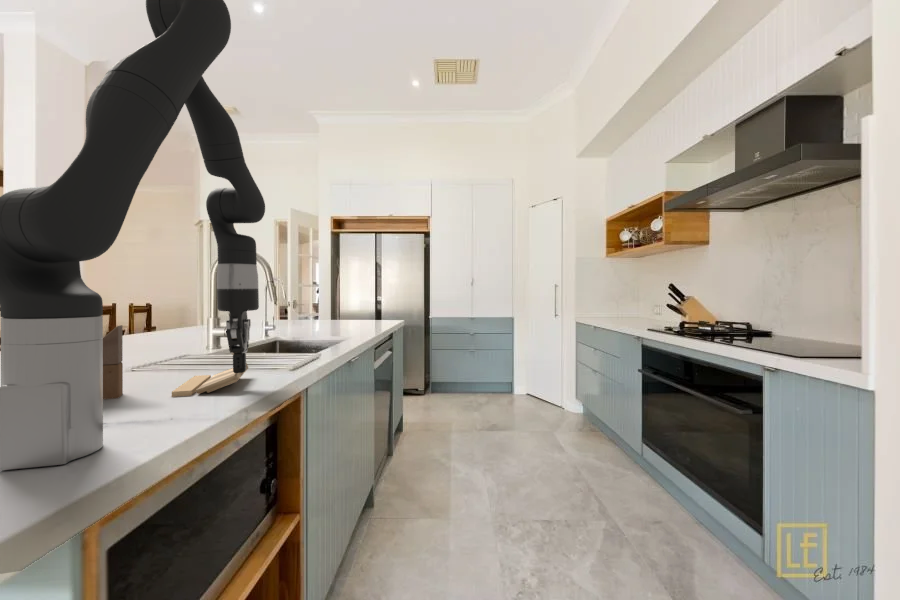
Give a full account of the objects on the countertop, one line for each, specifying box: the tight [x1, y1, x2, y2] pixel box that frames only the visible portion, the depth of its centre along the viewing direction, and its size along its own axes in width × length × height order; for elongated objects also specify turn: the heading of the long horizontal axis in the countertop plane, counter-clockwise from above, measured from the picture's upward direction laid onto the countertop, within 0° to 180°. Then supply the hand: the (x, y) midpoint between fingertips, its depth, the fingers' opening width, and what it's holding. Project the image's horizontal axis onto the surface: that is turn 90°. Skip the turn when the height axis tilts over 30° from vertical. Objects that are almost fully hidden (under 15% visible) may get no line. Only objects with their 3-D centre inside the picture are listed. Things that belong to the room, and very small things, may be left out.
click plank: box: [195, 362, 250, 395], centre depth 88 cm, size 16×7×1 cm, turn 18°
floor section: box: [171, 374, 212, 398], centre depth 88 cm, size 17×12×2 cm
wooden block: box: [103, 324, 124, 400], centre depth 76 cm, size 4×11×18 cm, turn 118°
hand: (239, 372), depth 85 cm, fingers closed
